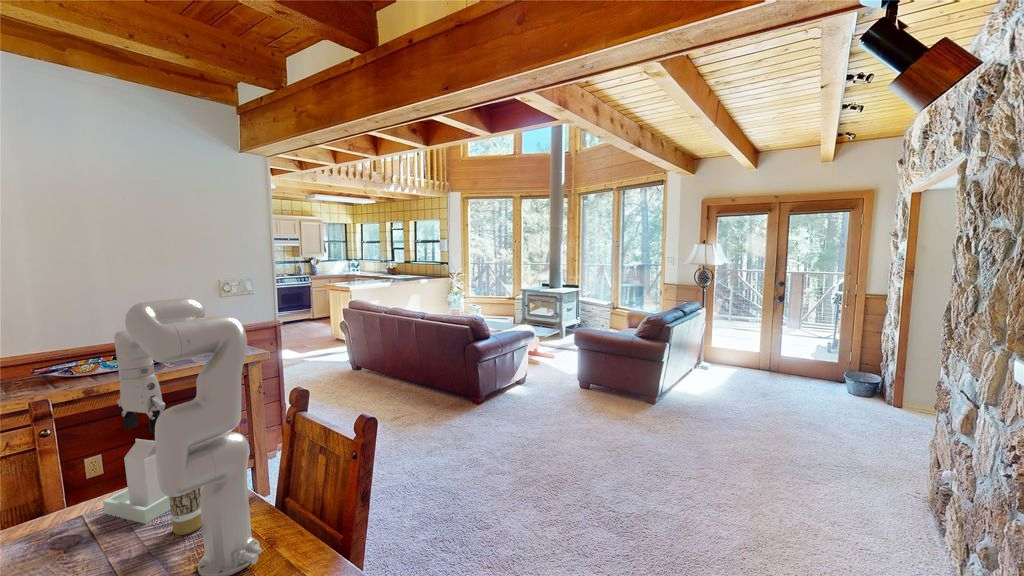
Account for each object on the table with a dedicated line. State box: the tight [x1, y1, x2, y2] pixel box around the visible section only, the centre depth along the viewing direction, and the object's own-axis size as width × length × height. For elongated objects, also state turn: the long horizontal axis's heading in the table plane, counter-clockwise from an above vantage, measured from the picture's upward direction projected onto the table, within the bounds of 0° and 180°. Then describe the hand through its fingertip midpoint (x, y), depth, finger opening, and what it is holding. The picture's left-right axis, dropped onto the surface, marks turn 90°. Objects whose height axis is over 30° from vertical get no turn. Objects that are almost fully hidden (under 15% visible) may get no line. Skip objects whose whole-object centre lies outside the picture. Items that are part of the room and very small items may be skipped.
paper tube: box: [169, 487, 202, 536], centre depth 114 cm, size 7×7×25 cm
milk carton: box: [123, 438, 166, 508], centre depth 124 cm, size 7×7×19 cm
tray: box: [102, 488, 171, 525], centre depth 126 cm, size 16×14×4 cm
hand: (144, 429), depth 123 cm, fingers open, 9 cm apart
